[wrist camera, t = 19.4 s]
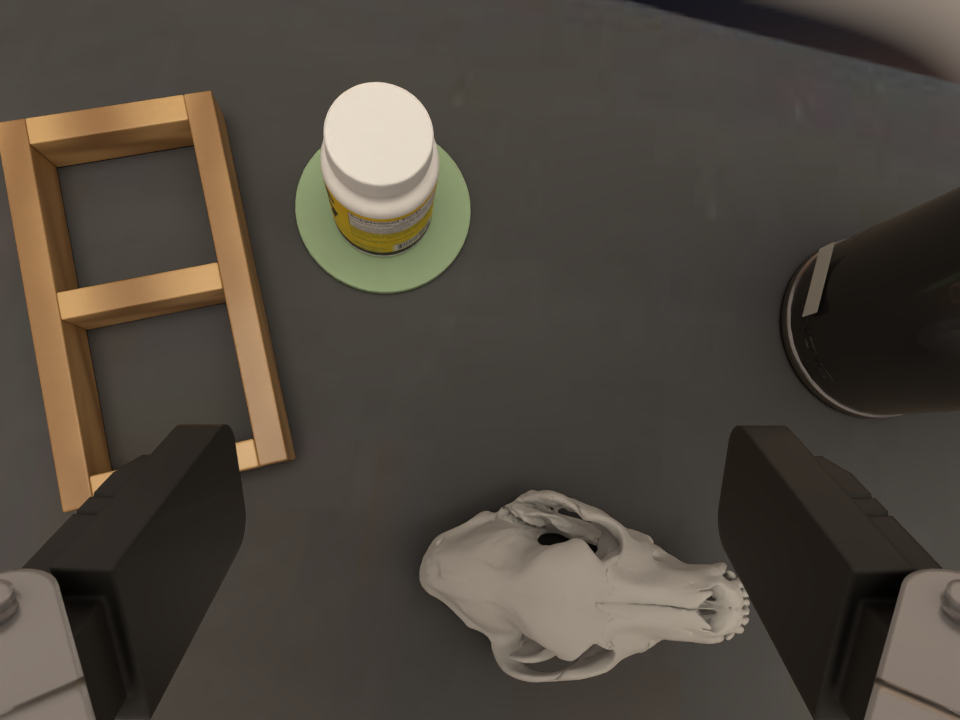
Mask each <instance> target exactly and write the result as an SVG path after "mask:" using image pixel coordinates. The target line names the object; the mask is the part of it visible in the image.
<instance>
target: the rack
mask: <svg viewBox="0 0 960 720" xmlns="http://www.w3.org/2000/svg"><path fill="white" fill-rule="evenodd" d="M191 145H194V148H195V153H196V158H197V163H198V167H199V172H200V177H201V182H202V187H203V192H204V197H205V202H206V207H207V212H208V216H209V221H210V226H211V231H212V236H213V241H214V246H215V251H216V256H217V260H218V263H211V264H206V265H201V266H195V267H190V268H185V269H180V270H174V271H169V272H164V273H158V274H153V275H148V276H143V277H137V278H132V279H127V280H121V281H116V282H111V283H106V284H100V285H95V286H90V287H84V288H78V283H77V277H76V272H75V266H74V261H73V255H72V250H71V244H70V239H69V234H68V228H67V223H66V217H65V212H64V206H63V201H62V195H61V190H60V184H59V179H58V173H57V168H56V167H62V166H68V165H75V164H81V163H87V162H93V161H99V160H105V159H111V158H118V157H124V156H130V155H136V154H142V153H148V152H154V151H161V150H167V149H173V148H179V147H185V146H191ZM0 153H1V159H2V165H3V170H4V176H5V182H6V188H7V193H8V199H9V205H10V210H11V216H12V222H13V228H14V233H15V239H16V245H17V251H18V256H19V262H20V268H21V274H22V279H23V285H24V291H25V297H26V302H27V308H28V314H29V319H30V325H31V331H32V337H33V342H34V348H35V354H36V360H37V365H38V371H39V377H40V383H41V388H42V394H43V400H44V405H45V411H46V417H47V423H48V428H49V434H50V440H51V446H52V451H53V457H54V463H55V469H56V474H57V480H58V486H59V492H60V497H61V503H62V509H63V512H69V511H75V510H78V509H79V508H80V507H81V505H82V504H83V503H84V502H85V501H86V500H87V499H88V498H89V497H93V496H94V492H95V491H96V490H97V489H98V488H99V487H100V486H101V484H102V483H103V482H104V481H105V480H106V479H107V478H108V477H109V476H110V475H111V474H112V473H113V472H115V471H116V470H114V471H112V469H111V464H110V458H109V453H108V447H107V442H106V436H105V431H104V425H103V420H102V414H101V409H100V403H99V398H98V392H97V387H96V381H95V376H94V370H93V365H92V360H91V354H90V349H89V343H88V338H87V332H86V329H87V330H89V329H94V328H99V327H104V326H109V325H114V324H119V323H124V322H129V321H134V320H139V319H144V318H149V317H154V316H159V315H164V314H169V313H175V312H180V311H185V310H190V309H195V308H200V307H205V306H210V305H215V304H220V303H225V302H226V305H227V309H228V314H229V319H230V324H231V329H232V334H233V339H234V344H235V349H236V354H237V358H238V363H239V368H240V373H241V378H242V383H243V388H244V393H245V398H246V402H247V407H248V412H249V417H250V422H251V427H252V432H253V437H254V439H249V440H245V441H240V442H236V450H237V457H238V463H239V470H240V472H242V471H247V470H251V469H255V468H259V467H263V466H267V465H272V464H276V463H280V462H285V461H289V460H293V459H295V458H296V457H295V452H294V447H293V443H292V438H291V433H290V428H289V424H288V419H287V414H286V409H285V405H284V400H283V395H282V390H281V385H280V381H279V376H278V371H277V366H276V362H275V357H274V352H273V347H272V343H271V338H270V333H269V328H268V324H267V319H266V314H265V309H264V304H263V300H262V295H261V290H260V285H259V281H258V276H257V271H256V266H255V262H254V257H253V252H252V247H251V242H250V238H249V233H248V228H247V223H246V219H245V214H244V209H243V204H242V200H241V195H240V190H239V185H238V180H237V176H236V171H235V166H234V161H233V157H232V152H231V147H230V142H229V138H228V133H227V128H226V123H225V119H224V116H223V114H222V112H221V110H220V108H219V106H218V104H217V102H216V100H215V98H214V96H213V94H212V92H211V91H205V92H198V93H191V94H185V95H184V96H183V95H179V96H172V97H165V98H159V99H152V100H146V101H139V102H132V103H126V104H119V105H112V106H106V107H99V108H93V109H86V110H79V111H73V112H66V113H60V114H53V115H46V116H40V117H33V118H27V119H26V120H25V119H20V120H13V121H6V122H0Z"/></svg>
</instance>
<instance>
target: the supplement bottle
mask: <svg viewBox="0 0 960 720" xmlns="http://www.w3.org/2000/svg"><path fill="white" fill-rule="evenodd" d="M320 163H321V171H322V175H323V179H324V183H325V187H326V191H327V194H328V198H329V202H330V206H331V210H332V214H333V217H334V221H335V223H336V226H337V228H338V230H339V232H340V233H341V235H342V236H343V238H344V239H345V240H346V241H347V242H348V243H349V244H350V245H352V246H353V247H354V248H356V249H357V250H359V251H361V252H363V253H366V254H369V255H372V256H379V257H387V256H394V255H398V254H401V253H404V252H406V251H408V250H410V249H411V248H413V247H414V246H415V245H416V244H417V243H418V242H419V241H420V240H421V239H422V238H423V237H424V235H425V233H426V232H427V230H428V228H429V225H430V221H431V218H432V210H433V204H434V198H435V192H436V187H437V181H438V174H439V153H438V148H437V145H436V142H435V140H434V133H433V126H432V122H431V120H430V117H429V115H428V113H427V111H426V109H425V108H424V106H423V105H422V104H421V102H420V101H419V100H418V99H417V98H416V97H415V96H413V95H412V94H411V93H409V92H408V91H406V90H405V89H403V88H400V87H398V86H395V85H392V84H388V83H382V82H370V83H364V84H360V85H357V86H355V87H353V88H350V89H349V90H347V91H345V92H344V93H343V94H341V95H340V96H339V97H338V98H337V99H336V100H335V101H334V103H333V104H332V106H331V107H330V109H329V111H328V113H327V116H326V119H325V123H324V140H323V143H322V147H321V156H320Z"/></svg>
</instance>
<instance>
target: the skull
mask: <svg viewBox="0 0 960 720" xmlns="http://www.w3.org/2000/svg"><path fill="white" fill-rule="evenodd" d="M504 507H505V508H504V509H503V507H501V509H500V510H499V511H498V512H495V513H493V512H490V511H483V512H480V513H478V514H477V515H476V516H475V517H473V518H472V519H470V520H469V521H467V522H466V523H464V524H462V525H460V526H458V527H455V528H453V529H451V530H449V531H446V532H444V533H442V534H440V535H438V536H437V537H436V538H435V539H434V540H433V541H432V543H431V545H430V546H429V548H428V550H427V552H426V553H425V555H424V557H423V560H422V563H421V566H420V574H419V576H420V583H421V585H422V587H423V588H424V589H425V590H426V591H427V592H428V593H429V594H430V595H432V596H434V597H436V598H438V599H439V600H441V601H442V602H444V603H445V604H446V605H447V606H448V607H449V608H450V609H452V610H453V611H454V612H455V614H456V615H457V616H458V617H459V618H460V619H461V620H462V621H463V622H464V623H465V624H466V625H467V626H468V627H469V628H472V629H475V630H477V631H480V632H482V633H483V634H485V635H486V636H487V637H488V638H489V639H490V641H491V646H492V651H493V654H494V657H495V659H496V661H497V663H498V665H499V666H500V668H501V669H502V670H503V671H504V672H505V673H506V674H508V675H510V676H512V677H514V678H516V679H519V680H523V681H528V682H551V681H566V680H580V679H585V678H589V677H593V676H597V675H600V674H603V673H606V672H607V671H609V670H611V669H612V668H613V667H614V666H615V665H616V664H617V663H618V662H619V661H621V660H622V659H624V658H626V657H628V656H630V655H632V654H635V653H642V652H645V651H646V650H648V649H649V648H651V647H652V646H654V645H655V644H656V643H657V642H659V641H661V640H664V639H665V640H674V641H686V642H696V643H703V644H714V643H719V642H721V641H723V640H724V635H725V638H726V639H727V640H730V639H731V638H732V637H733V636H734V634H735V633H739V634H741V633H743V632H744V628H743V627H742V626H741V624H742V625H746V624H747V623H748V622H749V619H748V617H746V616H745V615H748V614H749V611H750V610H749V608H748V607H747V606H749V604H750V602H749V600H748V599H747V598H745V597H749V596H748V594H747V592H746V590H745V588H744V586H743V585H742V583H741V581H740V579H739V577H738V578H737V579H736V575H735V574H734V573H733V572H732V571H730V570H727V571H726V569H727V565H726V564H725V563H723V562H719V563H715V564H710V565H709V564H686V563H683V562H682V561H679V560H678V559H677V558H675V557H673V556H672V555H670V554H668V553H667V552H665V551H664V550H662V549H661V548H660V547H659V546H657V545H655V544H653V543H654V542H653V540H652V538H651V537H650V536H648V535H646V534H643V533H641V532H639V531H635V530H633V529H628V528H625V527H624V526H623V525H622V524H621V523H619V522H618V521H616V520H615V519H613V518H612V517H610V516H609V515H608V514H607V513H605V512H604V511H602V510H600V509H598V508H596V507H593V506H590V505H587V504H584V503H582V502H580V501H578V500H576V499H573V498H569V497H566V496H565V495H563V494H561V493H558V492H555V491H552V490H542V491H536V490H530V491H528V492H526V493H524V494H522V495H520V496H519V497H518V498H517V499H516V500H515V501H513V502H512V503H509V504H507V505H505V506H504ZM550 507H552V508H553V510H551V509H550ZM561 508H564V509H566V510H568V511H570V512H575V513H578V515H579V516H580V517H581V518H582V519H583V520H584V521H583V520H580V519H578V518H574V517H570V516H566V515H563V514H560V513H558V510H559V509H561ZM586 521H589V522H591V523H589V522H586ZM546 533H557V534H560V535H563V536H564V537H566V538H568V539H570V540H568V541H566V542H562V543H557V544H553V545H550V546H549V545H541V544H539V543H538V540H537V539H538V538H539V537H540V535H542V534H546ZM587 543H589V544H592V545H595V546H597V548H598V550H597V552H596V553H594V552H593V551H592V550H591V548H590V547H589V546H588V544H587ZM589 647H591V648H590V649H589V650H588V651H587V652H585V651H586V650H587V649H588V648H589ZM584 652H585V653H584ZM582 653H584V654H582ZM581 654H582V655H581ZM580 655H581V657H580V658H579V660H578V661H577V662H576V663H574V664H573V665H571V666H570V667H568V668H565V669H563V670H560V671H556V672H539V671H535V670H532V669H530V668H529V667H527V666H526V665H524V663H537V662H541V661H545V660H548V659H550V658H552V657H554V656H557V657H558V658H560V659H562V660H566V661H573V660H575V659H577V658H578V657H579V656H580Z"/></svg>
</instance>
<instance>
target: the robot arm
mask: <svg viewBox="0 0 960 720" xmlns="http://www.w3.org/2000/svg"><path fill="white" fill-rule="evenodd" d="M781 325H782V335H783V340H784V344H785V348H786V351H787V354H788V357H789V359H790V361H791V364H792V366H793V367H794V369H795V371H796V373H797V374H798V376H799V377H800V379H801V380H802V381H803V383H804V384H805V385H806V386H807V387H808V388H809V389H810V390H811V391H812V392H813V393H814V394H815V395H816V396H817V397H818V398H819V399H821V400H822V401H823V402H825V403H826V404H828V405H829V406H831V407H833V408H835V409H837V410H839V411H841V412H844V413H846V414H849V415H853V416H857V417H864V418H885V417H895V416H900V415H903V414H912V413H927V412H946V411H960V187H959V188H956V189H954V190H952V191H950V192H948V193H946V194H943V195H941V196H939V197H937V198H935V199H933V200H930V201H928V202H926V203H924V204H922V205H920V206H918V207H915V208H913V209H911V210H909V211H907V212H905V213H902V214H900V215H898V216H896V217H894V218H892V219H890V220H887V221H885V222H883V223H881V224H878V225H876V226H874V227H872V228H870V229H867V230H865V231H863V232H861V233H859V234H857V235H855V236H853V237H851V238H847V239H843V240H840V241H837V242H833V243H831V244H828V245H826V246H824V247H822V248H820V249H819V250H818V251H817V252H815V253H814V254H812V255H811V256H810V257H809V258H808V259H806V260H805V261H804V262H803V264H802V265H801V266H800V267H799V268H798V270H797V271H796V272H795V274H794V275H793V277H792V279H791V281H790V283H789V285H788V287H787V290H786V293H785V296H784V300H783V306H782V315H781ZM245 520H246V513H245V503H244V497H243V490H242V483H241V477H240V470H239V463H238V457H237V450H236V443H235V438H234V434H233V431H232V429H231V428H230V427H229V426H228V425H178V426H176V427H175V428H174V429H173V430H172V431H171V433H170V434H169V435H168V436H167V437H166V438H165V439H164V440H163V442H162V443H161V444H160V445H159V446H158V447H157V448H156V449H155V450H154V452H153V453H152V454H151V455H142V456H140V457H139V458H137V459H135V460H133V461H132V462H130V463H128V464H127V465H125V466H123V467H121V468H120V469H118V470H116V471H115V472H113V473H112V474H111V475H110V476H109V477H108V478H107V479H106V480H105V481H104V482H103V483H102V484H101V486H100V487H99V488H98V489H97V490H96V491H95V492H94V496H93V497H89V498H88V499H87V500H86V501H85V502H84V503H83V504H82V505H81V507H80V508H79V509H78V510H77V514H73V515H72V516H71V517H70V518H69V519H68V520H67V521H66V522H65V523H64V524H63V525H62V526H61V528H60V529H59V530H58V531H57V532H56V533H55V534H54V535H53V536H52V537H51V538H50V539H49V540H48V541H47V542H46V543H45V544H44V545H43V546H42V547H41V549H40V550H39V551H38V552H37V553H36V554H35V555H34V556H33V557H32V558H31V559H30V560H29V561H28V562H27V563H26V564H25V565H24V566H23V567H22V568H21V569H11V570H5V571H0V720H114V719H151V717H152V715H153V713H154V711H155V710H156V708H157V706H158V704H159V702H160V700H161V698H162V696H163V694H164V692H165V690H166V688H167V687H168V685H169V683H170V681H171V679H172V677H173V675H174V673H175V671H176V669H177V667H178V665H179V664H180V662H181V660H182V658H183V656H184V654H185V652H186V650H187V648H188V646H189V644H190V642H191V641H192V639H193V637H194V635H195V633H196V631H197V629H198V627H199V625H200V623H201V621H202V619H203V617H204V616H205V614H206V612H207V610H208V608H209V606H210V604H211V602H212V600H213V598H214V596H215V594H216V593H217V591H218V589H219V587H220V585H221V583H222V581H223V579H224V577H225V575H226V573H227V571H228V570H229V568H230V566H231V564H232V562H233V560H234V558H235V556H236V554H237V552H238V550H239V548H240V546H241V543H242V540H243V536H244V530H245ZM718 527H719V534H720V539H721V543H722V546H723V548H724V550H725V552H726V554H727V556H728V558H729V560H730V562H731V564H732V566H733V567H734V569H735V571H736V573H737V575H738V577H739V579H740V581H741V583H742V585H743V586H744V588H745V590H746V592H747V594H748V596H749V598H750V600H751V602H752V603H753V605H754V607H755V609H756V611H757V613H758V615H759V617H760V619H761V621H762V622H763V624H764V626H765V628H766V630H767V632H768V634H769V636H770V638H771V639H772V641H773V643H774V645H775V647H776V649H777V651H778V653H779V655H780V657H781V658H782V660H783V662H784V664H785V666H786V668H787V670H788V672H789V674H790V675H791V677H792V679H793V681H794V683H795V685H796V687H797V689H798V691H799V693H800V694H801V696H802V698H803V700H804V702H805V704H806V706H807V708H808V710H809V711H810V713H811V715H812V717H813V719H814V720H960V571H955V570H949V569H943V568H942V567H941V566H940V565H939V564H938V563H937V562H936V561H935V560H934V559H933V558H932V557H931V556H930V555H929V554H928V553H927V552H926V551H925V550H924V549H923V547H922V546H921V545H920V544H919V543H918V542H917V541H916V540H915V539H914V538H913V537H912V536H911V535H910V534H909V533H908V532H907V531H906V530H905V529H904V528H903V527H902V526H901V525H900V524H899V523H898V521H897V520H896V519H895V518H894V517H893V516H888V511H887V510H886V509H885V508H884V507H883V506H882V505H881V504H880V503H879V502H878V501H877V500H876V499H875V498H871V493H870V492H869V491H868V490H867V489H866V488H865V487H864V486H863V485H862V484H861V483H860V482H859V481H858V480H857V479H856V478H855V477H854V476H853V475H852V474H851V473H850V472H848V471H846V470H844V469H843V468H841V467H839V466H837V465H836V464H834V463H832V462H831V461H829V460H827V459H825V458H824V457H822V456H813V454H812V453H811V452H810V451H809V450H808V449H807V448H806V447H805V446H804V444H803V443H802V442H801V441H800V440H799V439H798V438H797V437H796V436H795V435H794V433H793V432H792V431H791V430H790V429H789V428H788V427H786V426H736V427H735V428H734V429H733V430H732V432H731V435H730V438H729V443H728V449H727V456H726V463H725V469H724V476H723V482H722V489H721V495H720V502H719V509H718Z"/></svg>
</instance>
